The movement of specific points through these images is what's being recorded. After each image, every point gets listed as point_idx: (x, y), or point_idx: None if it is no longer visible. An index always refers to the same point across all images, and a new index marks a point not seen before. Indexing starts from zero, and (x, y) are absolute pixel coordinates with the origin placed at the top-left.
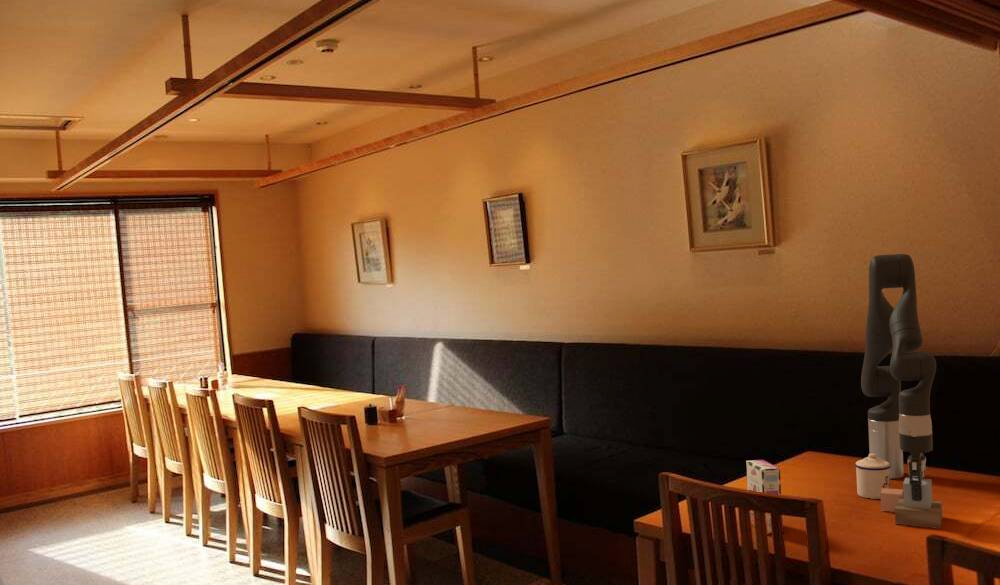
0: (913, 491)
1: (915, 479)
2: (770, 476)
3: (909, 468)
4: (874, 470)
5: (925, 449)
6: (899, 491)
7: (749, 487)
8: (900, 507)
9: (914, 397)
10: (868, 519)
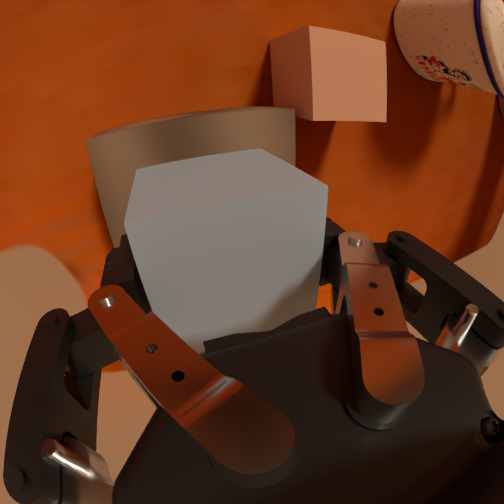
0: (102, 279)
1: (293, 260)
2: None
3: (9, 439)
4: (476, 35)
5: None
6: (358, 110)
7: None
8: (121, 156)
9: None
10: (131, 21)
